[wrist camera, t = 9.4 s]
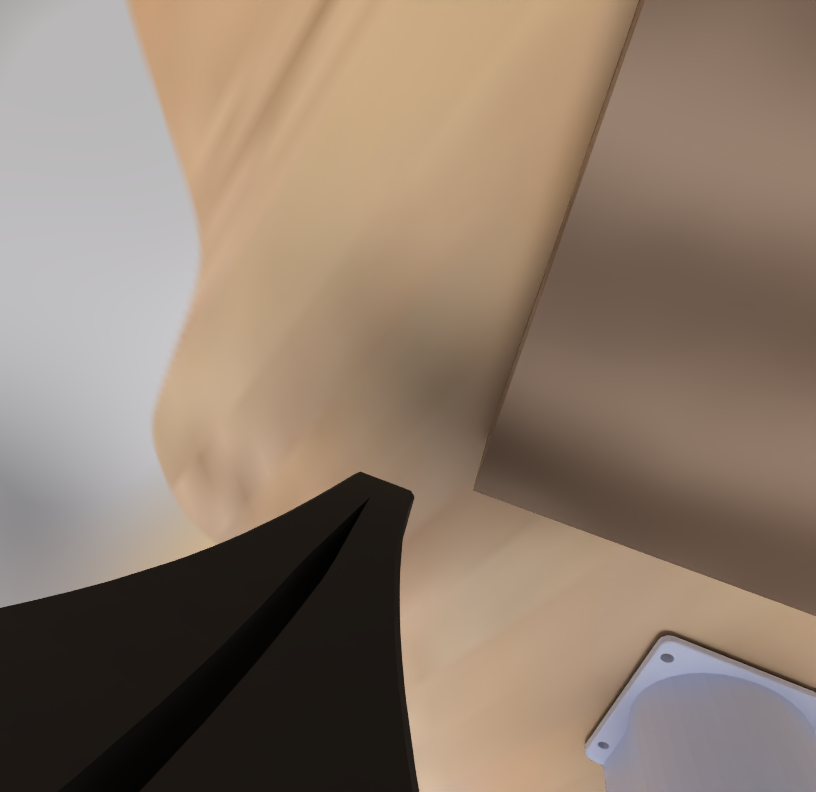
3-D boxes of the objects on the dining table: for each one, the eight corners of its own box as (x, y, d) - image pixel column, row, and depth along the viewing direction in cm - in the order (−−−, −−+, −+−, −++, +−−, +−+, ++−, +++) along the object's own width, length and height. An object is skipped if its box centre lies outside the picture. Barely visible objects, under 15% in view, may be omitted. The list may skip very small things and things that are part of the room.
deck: (788, 544, 16) (859, 632, 13) (486, 440, 18) (472, 490, 15) (1194, 26, 10) (1578, -100, 6) (652, -38, 12) (699, -158, 8)
